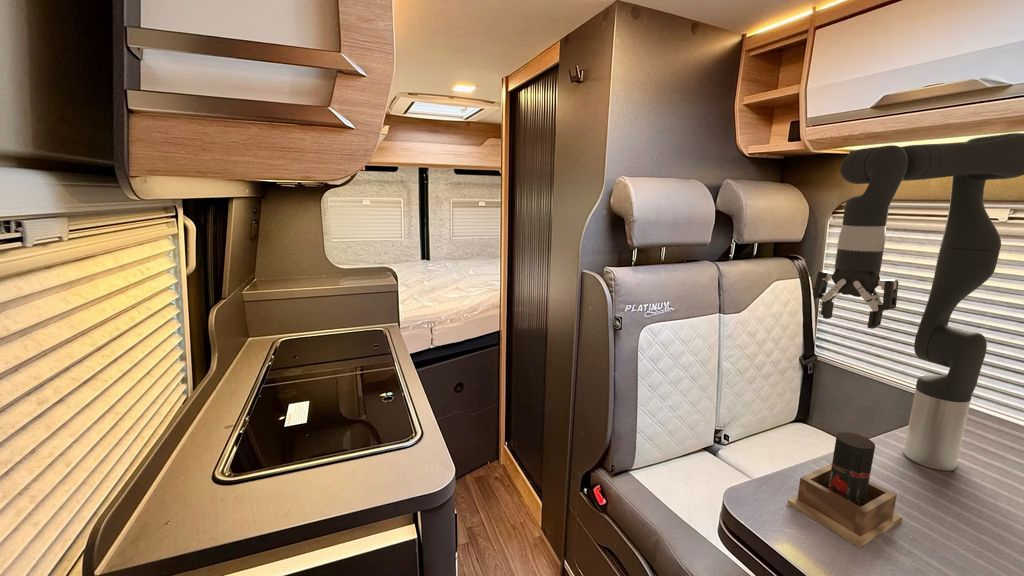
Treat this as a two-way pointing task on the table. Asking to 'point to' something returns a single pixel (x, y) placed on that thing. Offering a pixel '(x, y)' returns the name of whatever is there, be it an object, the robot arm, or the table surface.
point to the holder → (846, 508)
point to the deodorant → (851, 467)
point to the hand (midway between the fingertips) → (848, 322)
